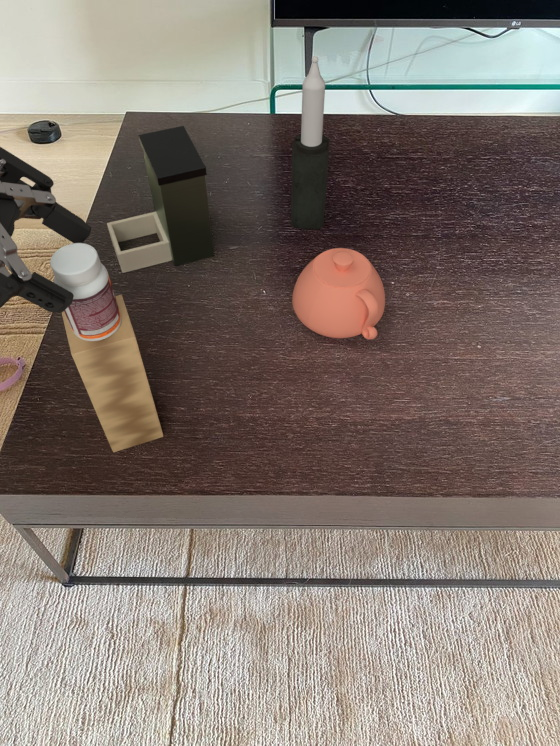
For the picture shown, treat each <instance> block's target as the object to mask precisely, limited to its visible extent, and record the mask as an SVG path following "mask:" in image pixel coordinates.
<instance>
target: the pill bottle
mask: <svg viewBox="0 0 560 746" xmlns="http://www.w3.org/2000/svg"><path fill="white" fill-rule="evenodd" d="M49 264H50V268H51V270H52V274H53V280H52V282H54V283H55V284H57V285H59V286H61V287H63V288H64V289H66V290H68V291H70V292H71V293H72V294H73V295H74V297H73V301H72V304H71V305H70V306H69V307H68V308H67V309H66V310H64V312H65V314H66V317H67V319H68V322H69V324H70V327H71V329H72V331H73V333H74V334H75V335H76V336H77V337H79V338H80V339H82V340H85V341H99V340H103V339H105V338H107V337H109V336H111V335H112V334H114V333H115V332H116V331H117V330H118V328H119V327H120V324H121V314H120V311H119V307H118V304H117V301H116V297H115V296H116V294H115V291H114V288H113V285H112V281H111V279H110V276H109V272H108V270H107V268H106V266H105V265H104V264H103V263H102V262H101V259H100V256H99V253H98V251H97V250H96V249H95V247H93V246H92V245H90V244H88V243H84V242H83V243H73V242H72V243H69V244H66V245H64V246H62V247H60V248H58V249H57V250H55V251H54V252H53V254H52V255H51V257H50V260H49Z"/></svg>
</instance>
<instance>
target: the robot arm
mask: <svg viewBox="0 0 560 746" xmlns="http://www.w3.org/2000/svg"><path fill="white" fill-rule="evenodd" d="M22 178H26V179H27V180H29V181H31V182H32V183H34V184H33V185H30V184H28V183H27V182H25V181H23V180H22ZM53 186H55V185H54V181H53V179H52V178H51V177H50V176H49V175H47V174H46V173H44V172H42V171H40V170H39V169H37V168H36V167H34V166H32V165H31V164H29V162H26V161H24V160H23V159H21V158H19V157H18V156H16V155H15V154H13V153H11V152H10V151H8V150H6V148H3V147H1V146H0V309H1V308H3V306H5V305H6V304H7V302H9V301H10V300H11V299H12V298H14V297H20V298H22V299H24V300H26V301H28V302H30V303H32V304H33V305H36V306H37V307H39V308H42V309H43V310H45V311H47V312H49V313H54V314H55V313H61V312H63V311H64V310H66V309H67V308H68V307H69V306H70V305H71V304H72V301H73V297H74V295H73V294H72V293H71V292H70V291H68V290H66V289H64V288H63V287H61V286H59V285H57V284H55V283H54V282H53V280H50V279H48V278H47V277H45V276H43V275H41V274H40V273H38V272H36V271H33V272H31V270H30V269H29V268H28V266H27V265H26V264H25V263H24V261H23V260H22V258H21V257H20V255H19V254H18V245H17V244H16V242H15V241H14V240H13V238H12V236H13V234H14V232H15V222H16V221H19V220H21V219H29V220H42V222H41V225H43V226H45V227H47V228H48V229H50V230H51V231H52V232H55V233H56V234H58V235H59V236H61V237H63V238H64V239H66V240H67V241H69V242H71V243H72V244H73V243H84V242H85V241H86V240H87V239H88V238H89V237H90V236H91V232H92V227H91V225H89V224H88V223H87V222H85V220H84V219H82V217H80V216H78V214H77V215H76V214H75V213H73V212H72V211H71V210H69V209H68V208H66V207H65V206H63V205H61V204H60V203H58V202H57V199H56V197H55V195H54V194H53V193H52V187H53ZM61 314H62V313H61Z"/></svg>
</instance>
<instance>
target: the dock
mask: <svg viewBox="0 0 560 746" xmlns="http://www.w3.org/2000/svg"><path fill="white" fill-rule="evenodd" d="M106 226H107V229H108V234H109V236H110V240H111V243H112V246H113V249H114V252H115V255H116V259H117V261H118V264H119V267H120V270H121V273H122V274H124V273H129V272H133V271H136V270H141V269H144V268H148V267H153V266H157V265H160V264H164V263H168V262H171V261H172V257H171V251H170V246H169V241H168V239H167V237H166V234H165V232H164V229H163V227H162V225H161V222H160V220H159V218H158V215H157V213H156V212H155V211H151V212H148V213H144V214H139V215H135V216H131V217H127V218H123V219H118V220H114V221H110V222H107V223H106ZM155 234H156V236H157V237H158V239H159V241H158V242H154V243H150V244H149V243H148V244H144V245H141V246H137V247H133V248H129V249H125V250H121V248H120V245H119V243H121V242H125V241H130V240H134V239H138V238H142V237H146V236H150V235H151V236H152V235H155ZM172 262H173V261H172Z"/></svg>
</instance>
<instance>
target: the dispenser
mask: <svg viewBox="0 0 560 746" xmlns="http://www.w3.org/2000/svg"><path fill="white" fill-rule="evenodd" d="M138 141H139V144H140V147H141V149H142V153H143V158H144V163H145V168H146V169H145V170H146V173H147V179H148V183H149V188H150V194H151V199H152V204H153V209H154V212H156V213H157V215H158V218H159V220H160V222H161V225H162V227H163V229H164V232H165V234H166V237H167V239H168V241H169V246H170V251H171V257H172V263H173V266H174V267H177V266H180V265H181V266H182V265H185V264H189V263H192V262H196V261H201V260H205V259H208V258H212V257H214V256H215V254H214V253H215V252H214V243H213V236H212V225H211V218H210V209H209V199H208V190H207V179H206V176H207V175H208V173H207V167H206V165H205V163H204V161H203V159H202V158H201V157H202V156H201V155H200V154H199V152H198V150H197V148H196V146H195V144H194V142H193V140H192V139H191V136H190V135H189V133H188V131H187V129H186V127H185V125H179V126H175V127H171V128H165V129H160V130H156V131H150V132H147V133H141V134H138Z"/></svg>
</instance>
